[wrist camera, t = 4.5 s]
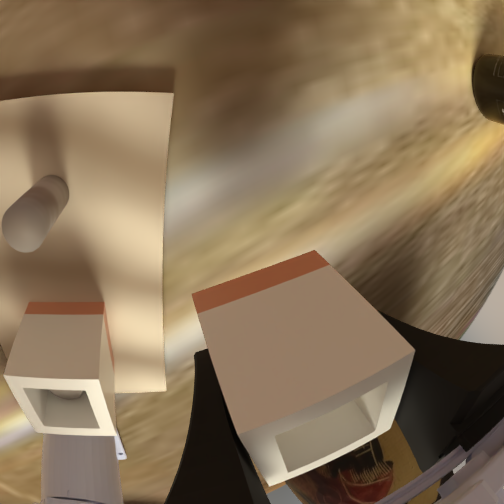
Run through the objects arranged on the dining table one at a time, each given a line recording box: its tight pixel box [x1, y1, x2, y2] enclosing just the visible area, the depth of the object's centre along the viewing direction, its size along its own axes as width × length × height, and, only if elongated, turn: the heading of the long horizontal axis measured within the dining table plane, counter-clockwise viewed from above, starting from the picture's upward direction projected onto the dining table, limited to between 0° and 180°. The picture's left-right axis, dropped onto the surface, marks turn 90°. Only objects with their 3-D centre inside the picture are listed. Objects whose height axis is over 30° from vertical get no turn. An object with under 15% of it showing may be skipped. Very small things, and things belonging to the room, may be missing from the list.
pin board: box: [0, 92, 174, 400], centre depth 14 cm, size 20×12×6 cm, turn 172°
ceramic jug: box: [285, 419, 454, 504], centre depth 18 cm, size 17×15×30 cm
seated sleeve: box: [4, 302, 117, 436], centre depth 15 cm, size 5×5×6 cm
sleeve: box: [192, 250, 415, 486], centre depth 11 cm, size 5×5×6 cm
